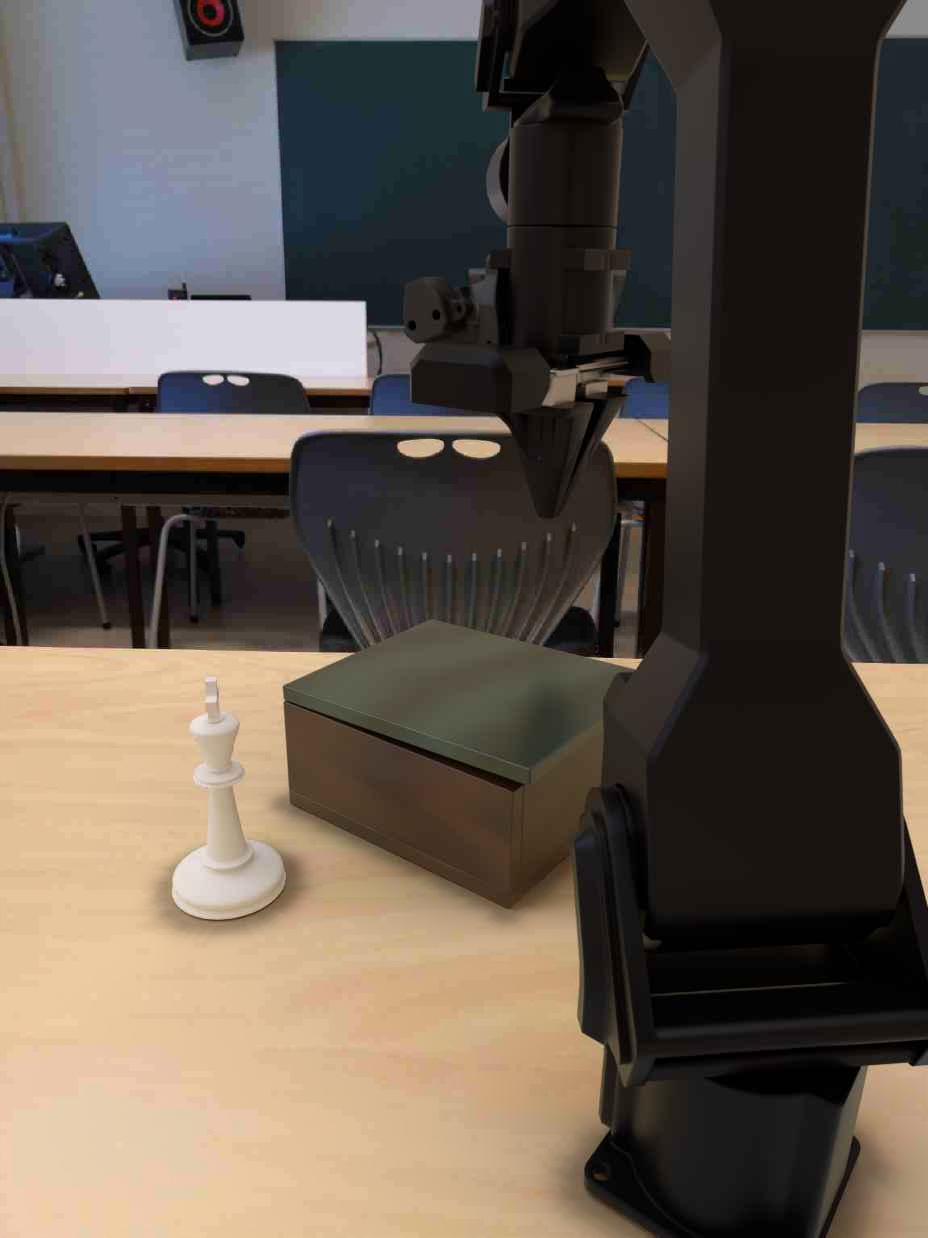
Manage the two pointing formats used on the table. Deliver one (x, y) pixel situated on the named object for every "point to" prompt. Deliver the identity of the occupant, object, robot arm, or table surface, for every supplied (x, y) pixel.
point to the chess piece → (224, 832)
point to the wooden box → (439, 803)
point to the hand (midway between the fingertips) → (548, 517)
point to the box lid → (467, 697)
